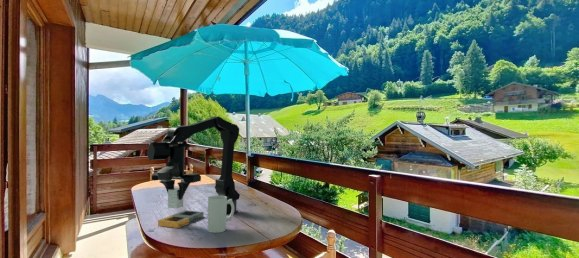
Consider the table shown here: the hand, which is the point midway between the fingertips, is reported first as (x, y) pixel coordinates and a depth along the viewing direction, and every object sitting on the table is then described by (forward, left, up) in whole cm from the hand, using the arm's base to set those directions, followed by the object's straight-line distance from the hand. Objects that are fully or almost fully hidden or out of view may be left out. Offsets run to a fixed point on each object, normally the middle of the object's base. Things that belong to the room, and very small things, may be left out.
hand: (175, 199), depth 121 cm
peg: (0, 0, -3) cm, 3 cm away
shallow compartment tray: (0, -4, -10) cm, 11 cm away
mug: (-20, 0, -10) cm, 22 cm away
